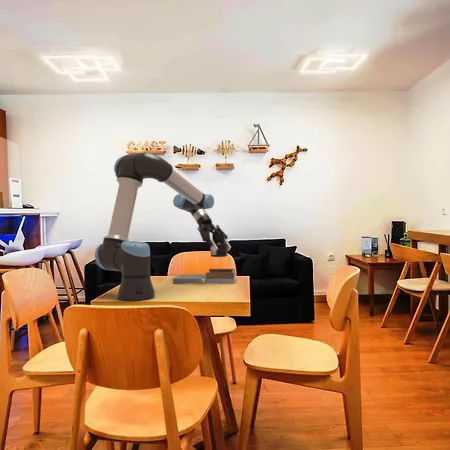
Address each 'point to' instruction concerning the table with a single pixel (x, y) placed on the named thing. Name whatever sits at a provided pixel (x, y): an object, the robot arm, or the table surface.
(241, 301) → the table surface
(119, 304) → the table surface
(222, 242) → the ink bottle
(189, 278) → the hinge
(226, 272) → the holder
